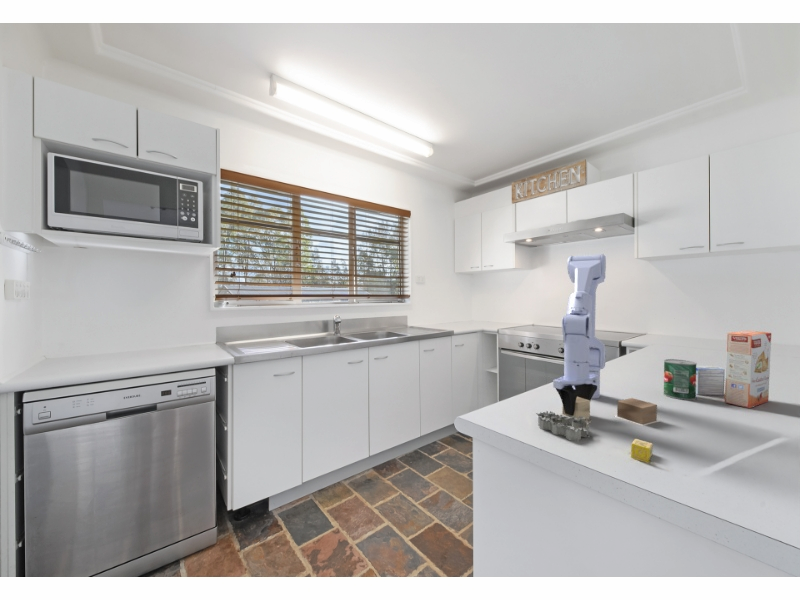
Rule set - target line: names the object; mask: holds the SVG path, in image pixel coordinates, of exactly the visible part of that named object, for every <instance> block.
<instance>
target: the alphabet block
mask: <svg viewBox="0 0 800 600" xmlns="http://www.w3.org/2000/svg"><path fill="white" fill-rule="evenodd" d="M630 445H631V446H630V448H631V449H630V458H631V459H634V460H637V461H641V462H645V463H647V464H649V463H650V462H651V457H652V455H653V452H654V451H653V450H654V449H653V448H654V447H653V446H654V445H653V443H652V442H648V441H645V440H641V439H638V438H634V439H633V441H632V443H631V444H630Z"/></svg>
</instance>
